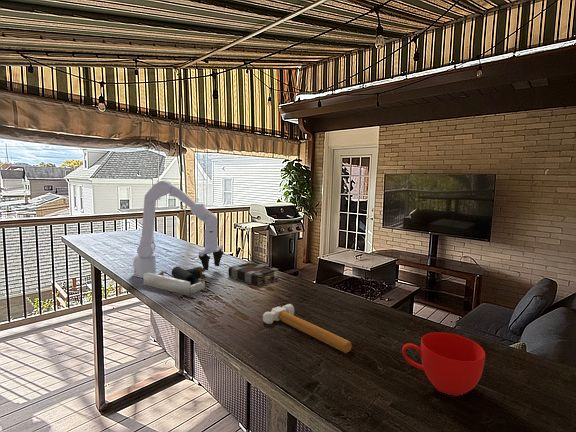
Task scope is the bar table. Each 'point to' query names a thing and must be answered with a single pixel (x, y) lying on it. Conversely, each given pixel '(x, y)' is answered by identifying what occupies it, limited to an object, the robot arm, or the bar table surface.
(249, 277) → the book
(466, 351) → the ceramic cup
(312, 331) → the hammer
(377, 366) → the bar table surface
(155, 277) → the white long box
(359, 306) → the bar table surface
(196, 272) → the pipe connector
